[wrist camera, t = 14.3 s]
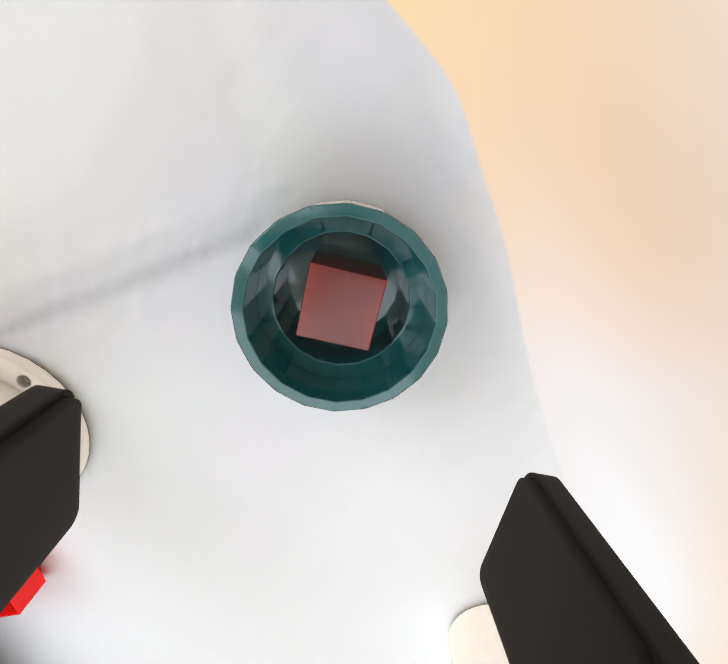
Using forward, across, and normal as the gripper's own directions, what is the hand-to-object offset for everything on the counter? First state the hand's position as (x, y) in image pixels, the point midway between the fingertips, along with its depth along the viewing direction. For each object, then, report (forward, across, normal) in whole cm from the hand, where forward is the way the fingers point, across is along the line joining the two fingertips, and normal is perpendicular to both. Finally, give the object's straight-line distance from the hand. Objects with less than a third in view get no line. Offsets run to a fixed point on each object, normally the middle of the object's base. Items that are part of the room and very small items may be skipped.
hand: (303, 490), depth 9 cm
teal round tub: (+18, -1, -1) cm, 18 cm away
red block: (+17, -1, -1) cm, 17 cm away
